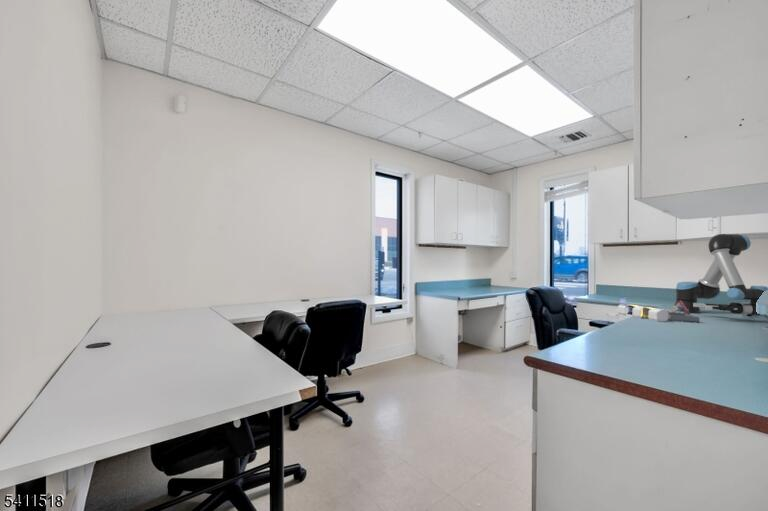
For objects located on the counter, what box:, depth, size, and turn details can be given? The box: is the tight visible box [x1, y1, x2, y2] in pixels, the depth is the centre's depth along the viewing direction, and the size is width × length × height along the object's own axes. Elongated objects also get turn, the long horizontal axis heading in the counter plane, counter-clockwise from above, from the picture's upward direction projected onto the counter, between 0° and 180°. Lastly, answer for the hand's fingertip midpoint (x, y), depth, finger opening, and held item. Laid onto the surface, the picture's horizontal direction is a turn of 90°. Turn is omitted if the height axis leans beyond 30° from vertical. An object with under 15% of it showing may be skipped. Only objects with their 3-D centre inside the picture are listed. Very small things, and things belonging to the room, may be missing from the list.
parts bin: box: [667, 312, 700, 324], centre depth 205 cm, size 15×16×4 cm
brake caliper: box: [666, 301, 691, 315], centre depth 220 cm, size 11×11×12 cm
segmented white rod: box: [617, 296, 669, 322], centre depth 209 cm, size 25×10×13 cm, turn 16°
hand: (699, 306), depth 216 cm, fingers open, 13 cm apart
